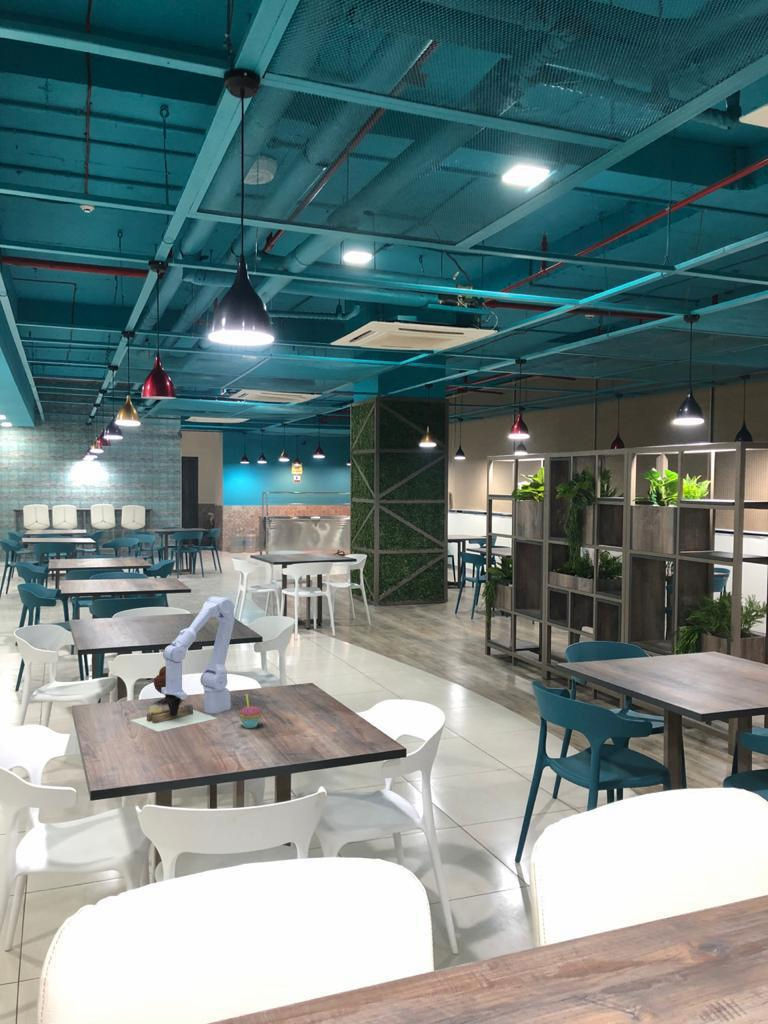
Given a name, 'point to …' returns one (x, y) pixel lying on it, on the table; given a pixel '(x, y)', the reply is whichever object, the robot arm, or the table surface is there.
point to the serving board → (174, 721)
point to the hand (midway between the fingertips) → (173, 715)
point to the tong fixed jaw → (189, 707)
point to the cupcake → (250, 715)
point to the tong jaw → (169, 715)
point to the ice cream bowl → (161, 681)
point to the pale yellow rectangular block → (155, 709)
